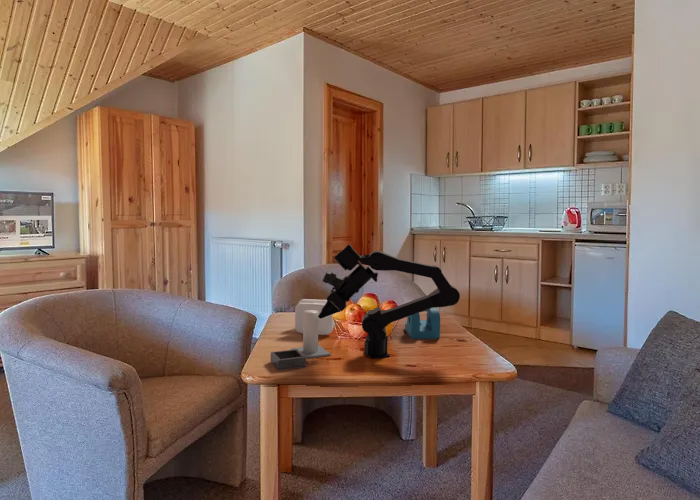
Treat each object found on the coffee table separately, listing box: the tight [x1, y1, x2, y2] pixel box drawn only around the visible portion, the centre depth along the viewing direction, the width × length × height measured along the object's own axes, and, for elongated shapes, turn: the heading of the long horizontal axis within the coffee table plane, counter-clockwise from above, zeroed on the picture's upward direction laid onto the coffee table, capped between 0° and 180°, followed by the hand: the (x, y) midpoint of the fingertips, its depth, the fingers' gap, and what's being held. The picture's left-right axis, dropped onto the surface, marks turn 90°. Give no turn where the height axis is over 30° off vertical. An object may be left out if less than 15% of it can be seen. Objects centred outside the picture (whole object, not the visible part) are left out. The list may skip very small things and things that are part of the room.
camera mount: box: [404, 307, 441, 340], centre depth 178 cm, size 18×10×10 cm, turn 3°
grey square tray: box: [270, 349, 307, 372], centre depth 140 cm, size 8×8×3 cm
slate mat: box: [290, 344, 331, 360], centre depth 151 cm, size 10×10×1 cm
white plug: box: [302, 310, 319, 353], centre depth 150 cm, size 5×5×13 cm
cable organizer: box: [294, 298, 336, 336], centre depth 178 cm, size 15×11×12 cm
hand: (320, 314), depth 150 cm, fingers open, 9 cm apart
